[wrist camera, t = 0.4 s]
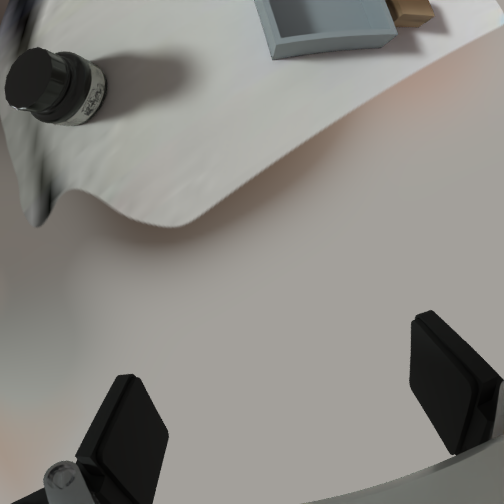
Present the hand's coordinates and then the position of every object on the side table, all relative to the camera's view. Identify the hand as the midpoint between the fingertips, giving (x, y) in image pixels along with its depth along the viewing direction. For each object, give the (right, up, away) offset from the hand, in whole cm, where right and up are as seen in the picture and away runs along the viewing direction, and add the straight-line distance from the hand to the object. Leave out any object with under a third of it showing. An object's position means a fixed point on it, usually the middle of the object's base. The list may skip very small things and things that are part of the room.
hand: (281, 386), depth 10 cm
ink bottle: (-23, +25, +25) cm, 42 cm away
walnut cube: (+19, +37, +21) cm, 47 cm away
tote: (+6, +37, +21) cm, 43 cm away
